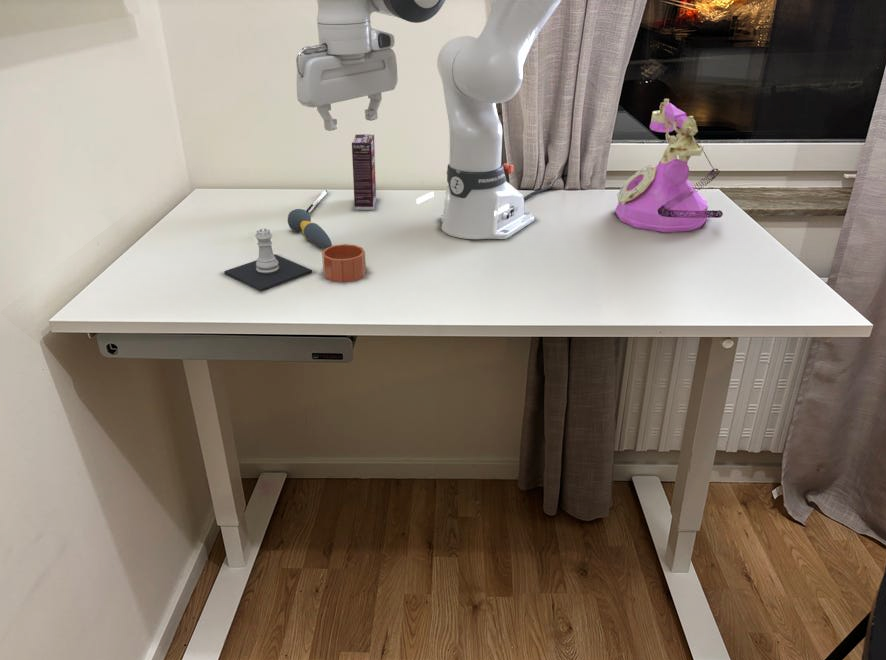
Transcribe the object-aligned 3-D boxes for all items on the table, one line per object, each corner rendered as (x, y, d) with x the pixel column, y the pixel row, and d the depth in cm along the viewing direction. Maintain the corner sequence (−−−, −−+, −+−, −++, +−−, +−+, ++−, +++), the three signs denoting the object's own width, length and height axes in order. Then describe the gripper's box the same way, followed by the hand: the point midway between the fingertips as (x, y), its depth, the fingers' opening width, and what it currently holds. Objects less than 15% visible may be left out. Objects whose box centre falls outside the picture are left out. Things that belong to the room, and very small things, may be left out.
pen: (303, 216, 173) (303, 212, 172) (325, 192, 189) (324, 187, 189) (307, 217, 173) (307, 212, 172) (328, 192, 189) (328, 187, 188)
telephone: (606, 199, 184) (618, 93, 171) (698, 200, 183) (717, 94, 170) (634, 254, 153) (652, 130, 140) (746, 255, 152) (774, 130, 140)
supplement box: (374, 210, 177) (371, 143, 169) (354, 210, 177) (350, 143, 169) (377, 199, 184) (374, 133, 176) (357, 199, 184) (354, 133, 176)
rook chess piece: (251, 272, 143) (246, 233, 139) (264, 264, 147) (259, 225, 143) (271, 276, 142) (266, 236, 138) (284, 267, 146) (279, 228, 142)
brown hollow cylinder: (346, 262, 149) (345, 241, 147) (374, 273, 145) (373, 251, 142) (315, 274, 144) (313, 252, 142) (342, 285, 140) (341, 263, 137)
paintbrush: (346, 248, 156) (344, 225, 153) (325, 253, 153) (323, 230, 151) (299, 223, 170) (297, 201, 167) (280, 227, 167) (277, 206, 164)
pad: (275, 256, 152) (274, 254, 152) (312, 272, 145) (312, 269, 145) (224, 273, 145) (224, 271, 144) (261, 291, 137) (260, 288, 137)
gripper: (307, 49, 117) (316, 139, 124) (401, 35, 129) (404, 116, 136) (283, 46, 121) (293, 133, 128) (376, 32, 133) (381, 112, 140)
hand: (351, 124), depth 132 cm, fingers open, 8 cm apart
